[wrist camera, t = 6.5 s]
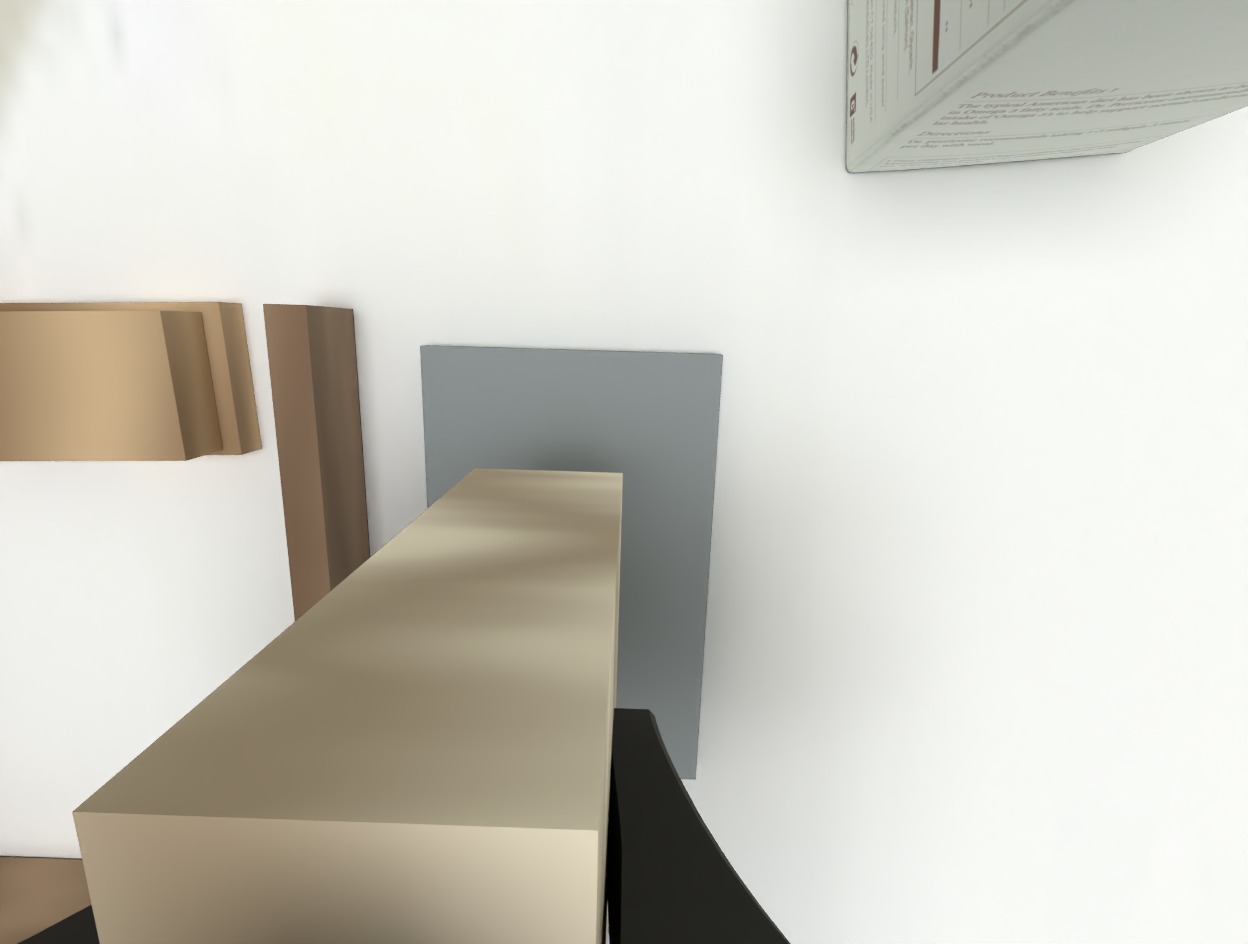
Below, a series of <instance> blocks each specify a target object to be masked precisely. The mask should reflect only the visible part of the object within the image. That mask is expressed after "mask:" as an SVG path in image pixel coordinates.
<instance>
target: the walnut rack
mask: <svg viewBox="0 0 1248 944" xmlns="http://www.w3.org/2000/svg"><path fill="white" fill-rule="evenodd" d="M263 308H264V318H265V328H266V338H267V348H268V358H269V368H270V377H271V387H272V397H273V407H274V417H275V427H276V437H277V447H278V457H279V467H280V477H281V487H282V496H283V506H284V516H285V526H286V536H287V546H288V556H289V566H290V576H291V586H292V596H293V606H294V615H295V621H297V620H298V619H299V618H300V617H301V616H302V615H304V614H305V613H306V612H307V611H308V610H309V609H311V608H312V607H313V606H314V605H315V604H316V603H318V602H319V601H320V600H321V599H322V598H323V597H325V596H326V595H327V594H328V593H329V592H330V591H332V590H333V589H334V588H335V587H336V586H337V585H339V584H340V583H341V582H342V581H343V580H345V579H346V578H347V577H348V576H349V575H350V574H352V573H353V572H354V571H355V570H356V569H357V568H359V567H360V566H361V565H362V564H363V563H364V562H366V561H367V560H368V559H369V558H370V553H369V539H368V524H367V510H366V495H365V481H364V466H363V452H362V437H361V423H360V408H359V394H358V379H357V365H356V350H355V336H354V321H353V309H343V308H332V307H321V306H310V305H284V304H263ZM90 905H91V899H90V894H89V889H88V884H87V880H86V875H85V870H84V865H83V860H79V859H52V858H24V857H0V944H17V943H19V942H21V941H23V940H25V939H27V938H29V937H31V936H33V935H35V934H37V933H39V932H41V931H43V930H45V929H46V928H48V927H50V926H52V925H54V924H56V923H58V922H60V921H61V920H63V919H65V918H67V917H69V916H71V915H73V914H75V913H76V912H78V911H80V910H82V909H84V908H86V907H88V906H90Z"/></svg>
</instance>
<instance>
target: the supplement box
mask: <svg viewBox="0 0 1248 944" xmlns="http://www.w3.org/2000/svg"><path fill="white" fill-rule="evenodd" d="M1246 106H1248V0H848V59H847V137H846V165H847V170H848V171H849V172H852V173H855V172H868V171H889V170H908V169H921V168H935V167H948V166H962V165H974V164H987V163H999V162H1012V161H1024V160H1036V159H1049V158H1061V157H1073V156H1085V155H1098V154H1110V153H1126V152H1129V151H1131V150H1133V149H1135V148H1138V147H1140V146H1143V145H1146V144H1148V143H1151V142H1154V141H1156V140H1159V139H1162V138H1164V137H1167V136H1169V135H1172V134H1175V133H1177V132H1180V131H1183V130H1186V129H1188V128H1191V127H1194V126H1197V125H1199V124H1202V123H1204V122H1207V121H1210V120H1213V119H1215V118H1218V117H1220V116H1223V115H1225V114H1228V113H1231V112H1233V111H1236V110H1238V109H1241V108H1243V107H1246Z"/></svg>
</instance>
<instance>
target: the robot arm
mask: <svg viewBox="0 0 1248 944" xmlns="http://www.w3.org/2000/svg"><path fill="white" fill-rule="evenodd" d="M608 924H609V933H608V940H607V944H790V943H789V941H788V940H787V939H786V938H785V936H784V935H783V934H782V933H781V931H780V930H779V929H778V927H777V926H776V925H775V924H774V922H773V921H772V920H771V919H770V917H769V916H768V915H767V914H766V912H765V911H764V910H763V909H762V907H761V906H760V905H759V903H758V902H757V900H756V899H755V898H754V896H753V895H752V894H751V892H750V891H749V890H748V888H747V887H746V885H745V884H744V883H743V881H742V880H741V879H740V877H739V876H738V874H737V873H736V871H735V870H734V868H733V867H732V866H731V864H730V863H729V861H728V859H727V858H726V856H725V855H724V853H723V852H722V850H721V849H720V847H719V846H718V844H717V842H716V841H715V839H714V838H713V836H712V834H711V833H710V831H709V830H708V828H707V826H706V825H705V823H704V821H703V820H702V818H701V816H700V814H699V813H698V811H697V809H696V807H695V806H694V804H693V802H692V800H691V798H690V796H689V794H688V792H687V791H686V789H685V787H684V785H683V783H682V781H681V779H680V777H679V775H678V773H677V771H676V769H675V767H674V765H673V763H672V761H671V758H670V756H669V754H668V752H667V749H666V747H665V745H664V742H663V740H662V737H661V734H660V732H659V729H658V725H657V722H656V718H655V715H654V714H653V713H652V712H651V711H650V710H649V709H626V708H614V718H613V735H612V760H611V795H610V830H609V866H608ZM17 944H100V942H99V938H98V933H97V928H96V923H95V918H94V913H93V909H92V904H91V905H90V906H88V907H86V908H84V909H82V910H80V911H78V912H76V913H75V914H73V915H71V916H69V917H67V918H65V919H63V920H61V921H60V922H58V923H56V924H54V925H52V926H50V927H48V928H46V929H45V930H43V931H41V932H39V933H37V934H35V935H33V936H31V937H29V938H27V939H25V940H23V941H21V942H19V943H17Z"/></svg>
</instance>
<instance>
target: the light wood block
mask: <svg viewBox="0 0 1248 944" xmlns="http://www.w3.org/2000/svg"><path fill="white" fill-rule="evenodd" d="M622 485H623V473H609V472H577V471H546V470H514V469H483V468H474V469H473V470H472V471H471V472H470V473H469V474H467V475H466V476H465V477H464V478H463V479H462V480H460V481H459V482H458V483H457V484H456V485H455V486H453V487H452V488H451V489H450V490H449V491H448V492H446V493H445V494H444V495H443V496H442V497H441V498H439V499H438V500H437V501H436V502H435V503H433V504H432V505H431V506H430V507H429V508H428V509H426V510H425V511H424V512H423V513H422V514H421V515H419V516H418V517H417V518H416V519H415V520H414V521H412V522H411V523H410V524H409V525H408V526H407V527H405V528H404V529H403V530H402V531H401V532H400V533H398V534H397V535H396V536H395V537H394V538H393V539H391V540H390V541H389V542H388V543H387V544H385V545H384V546H383V547H382V548H381V549H380V550H378V551H377V552H376V553H375V554H374V555H373V556H371V557H370V558H369V559H368V560H367V561H366V562H364V563H363V564H362V565H361V566H360V567H359V568H357V569H356V570H355V571H354V572H353V573H352V574H350V575H349V576H348V577H347V578H346V579H345V580H343V581H342V582H341V583H340V584H339V585H337V586H336V587H335V588H334V589H333V590H332V591H330V592H329V593H328V594H327V595H326V596H325V597H323V598H322V599H321V600H320V601H319V602H318V603H316V604H315V605H314V606H313V607H312V608H311V609H309V610H308V611H307V612H306V613H305V614H304V615H302V616H301V617H300V618H299V619H298V620H297V621H295V622H294V623H293V624H292V625H291V626H289V627H288V628H287V629H286V630H285V631H284V632H282V633H281V634H280V635H279V636H278V637H277V638H275V639H274V640H273V641H272V642H271V643H270V644H268V645H267V646H266V647H265V648H264V649H263V650H261V651H260V652H259V653H258V654H257V655H256V656H254V657H253V658H252V659H251V660H250V661H249V662H247V663H246V664H245V665H244V666H243V667H241V668H240V669H239V670H238V671H237V672H236V673H234V674H233V675H232V676H231V677H230V678H229V679H227V680H226V681H225V682H224V683H223V684H222V685H220V686H219V687H218V688H217V689H216V690H215V691H213V692H212V693H211V694H210V695H209V696H208V697H206V698H205V699H204V700H203V701H202V702H201V703H199V704H198V705H197V706H196V707H195V708H193V709H192V710H191V711H190V712H189V713H188V714H186V715H185V716H184V717H183V718H182V719H181V720H179V721H178V722H177V723H176V724H175V725H174V726H172V727H171V728H170V729H169V730H168V731H167V732H165V733H164V734H163V735H162V736H161V737H160V738H158V739H157V740H156V741H155V742H154V743H153V744H151V745H150V746H149V747H148V748H147V749H145V750H144V751H143V752H142V753H141V754H140V755H138V756H137V757H136V758H135V759H134V760H133V761H131V762H130V763H129V764H128V765H127V766H126V767H124V768H123V769H122V770H121V771H120V772H119V773H117V774H116V775H115V776H114V777H113V778H112V779H110V780H109V781H108V782H107V783H106V784H105V785H103V786H102V787H101V788H100V789H99V790H97V791H96V792H95V793H94V794H93V795H92V796H90V797H89V798H88V799H87V800H86V801H85V802H83V803H82V804H81V805H80V806H79V807H78V808H76V809H75V810H74V811H73V817H74V822H75V826H76V831H77V836H78V841H79V846H80V851H81V855H82V860H83V865H84V870H85V875H86V880H87V884H88V889H89V894H90V899H91V904H92V909H93V913H94V918H95V923H96V928H97V933H98V938H99V942H100V944H607V940H608V866H609V830H610V795H611V760H612V735H613V718H614V708H616V687H617V653H618V619H619V586H620V552H621V518H622Z"/></svg>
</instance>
